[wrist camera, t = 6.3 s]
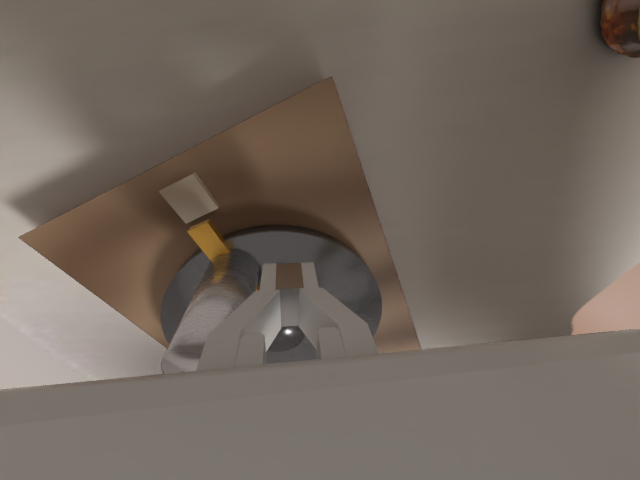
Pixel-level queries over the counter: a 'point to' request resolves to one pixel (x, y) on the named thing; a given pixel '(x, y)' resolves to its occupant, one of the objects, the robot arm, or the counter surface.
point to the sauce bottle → (621, 26)
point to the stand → (230, 211)
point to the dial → (256, 287)
